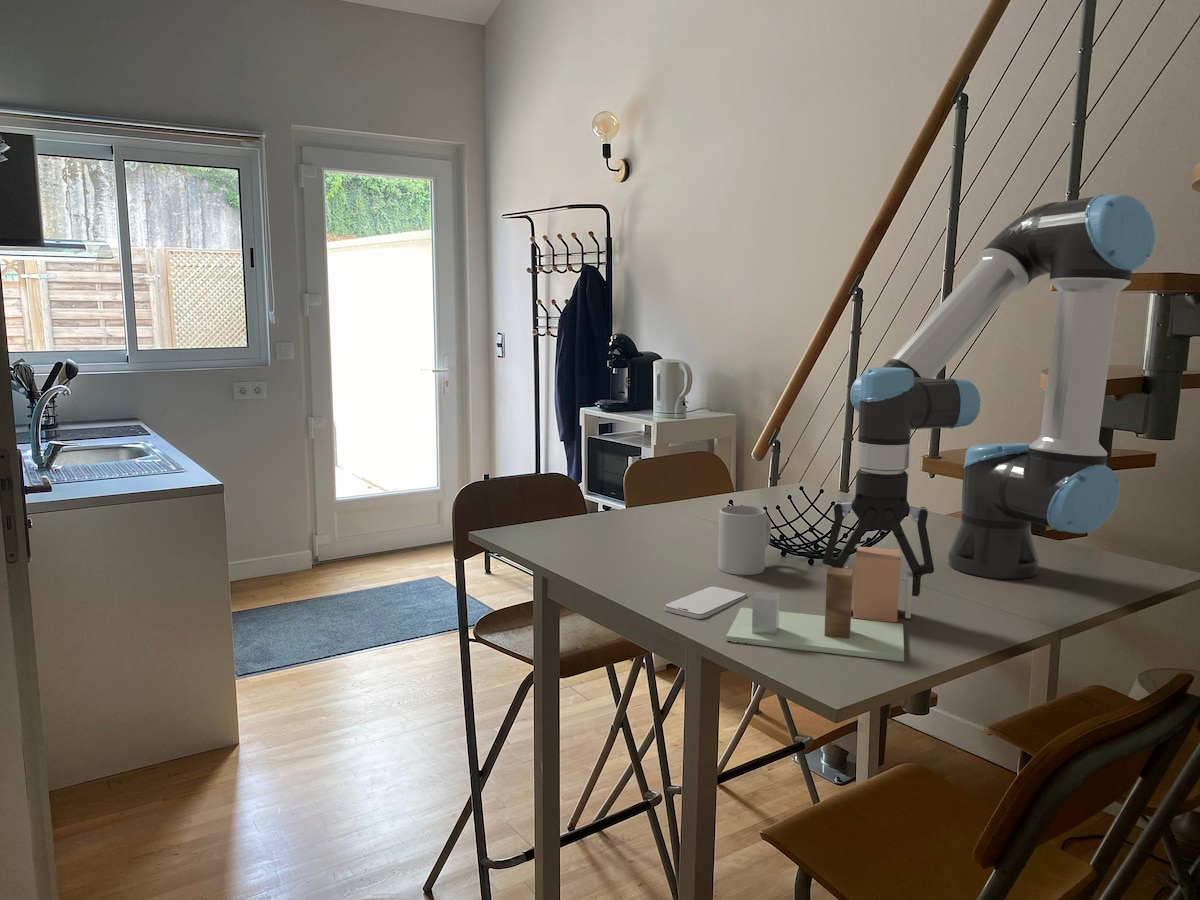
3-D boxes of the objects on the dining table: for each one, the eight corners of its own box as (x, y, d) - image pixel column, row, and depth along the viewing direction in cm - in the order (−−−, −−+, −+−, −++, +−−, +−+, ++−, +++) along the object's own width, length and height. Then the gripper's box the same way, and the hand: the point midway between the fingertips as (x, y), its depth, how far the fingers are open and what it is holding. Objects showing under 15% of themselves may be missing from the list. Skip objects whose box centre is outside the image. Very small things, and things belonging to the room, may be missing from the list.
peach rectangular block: (896, 609, 139) (899, 549, 138) (897, 622, 133) (900, 560, 132) (854, 605, 141) (857, 546, 140) (853, 617, 135) (855, 556, 134)
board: (902, 629, 131) (903, 624, 130) (903, 661, 118) (904, 655, 118) (740, 612, 138) (740, 607, 138) (726, 641, 126) (726, 635, 126)
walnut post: (850, 635, 128) (853, 569, 126) (848, 644, 125) (852, 575, 123) (825, 633, 129) (828, 567, 127) (824, 641, 126) (826, 573, 124)
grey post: (778, 632, 129) (779, 593, 128) (775, 641, 126) (776, 600, 125) (755, 630, 130) (756, 591, 129) (751, 638, 127) (752, 598, 126)
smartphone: (749, 593, 146) (700, 615, 134) (748, 600, 146) (700, 622, 135) (710, 585, 151) (661, 605, 139) (710, 592, 151) (661, 612, 139)
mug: (744, 578, 156) (745, 517, 154) (708, 568, 162) (709, 509, 161) (786, 565, 164) (788, 508, 162) (750, 556, 170) (751, 500, 168)
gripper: (957, 469, 134) (948, 611, 138) (811, 462, 141) (806, 597, 144) (960, 477, 127) (951, 627, 130) (807, 469, 134) (801, 612, 137)
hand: (875, 612), depth 137 cm, fingers open, 9 cm apart
